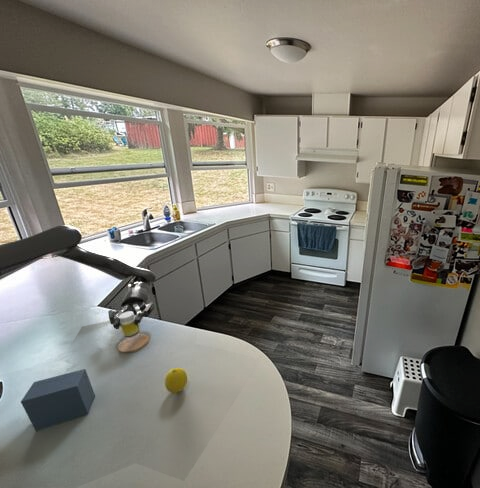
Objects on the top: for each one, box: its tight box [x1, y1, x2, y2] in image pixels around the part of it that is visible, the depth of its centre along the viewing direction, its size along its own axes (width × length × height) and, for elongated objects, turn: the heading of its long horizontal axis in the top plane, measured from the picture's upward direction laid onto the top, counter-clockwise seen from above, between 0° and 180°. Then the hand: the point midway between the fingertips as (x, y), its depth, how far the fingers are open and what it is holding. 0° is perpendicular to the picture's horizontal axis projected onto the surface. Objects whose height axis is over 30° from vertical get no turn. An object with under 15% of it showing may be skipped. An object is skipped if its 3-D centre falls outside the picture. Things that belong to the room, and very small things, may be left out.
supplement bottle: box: [119, 311, 141, 339], centre depth 88 cm, size 5×5×8 cm
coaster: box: [117, 333, 150, 354], centre depth 90 cm, size 9×9×1 cm
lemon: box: [164, 367, 188, 394], centre depth 72 cm, size 6×6×8 cm
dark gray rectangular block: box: [20, 368, 96, 432], centre depth 65 cm, size 10×6×10 cm, turn 117°
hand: (126, 324), depth 85 cm, fingers closed on supplement bottle, 4 cm apart
